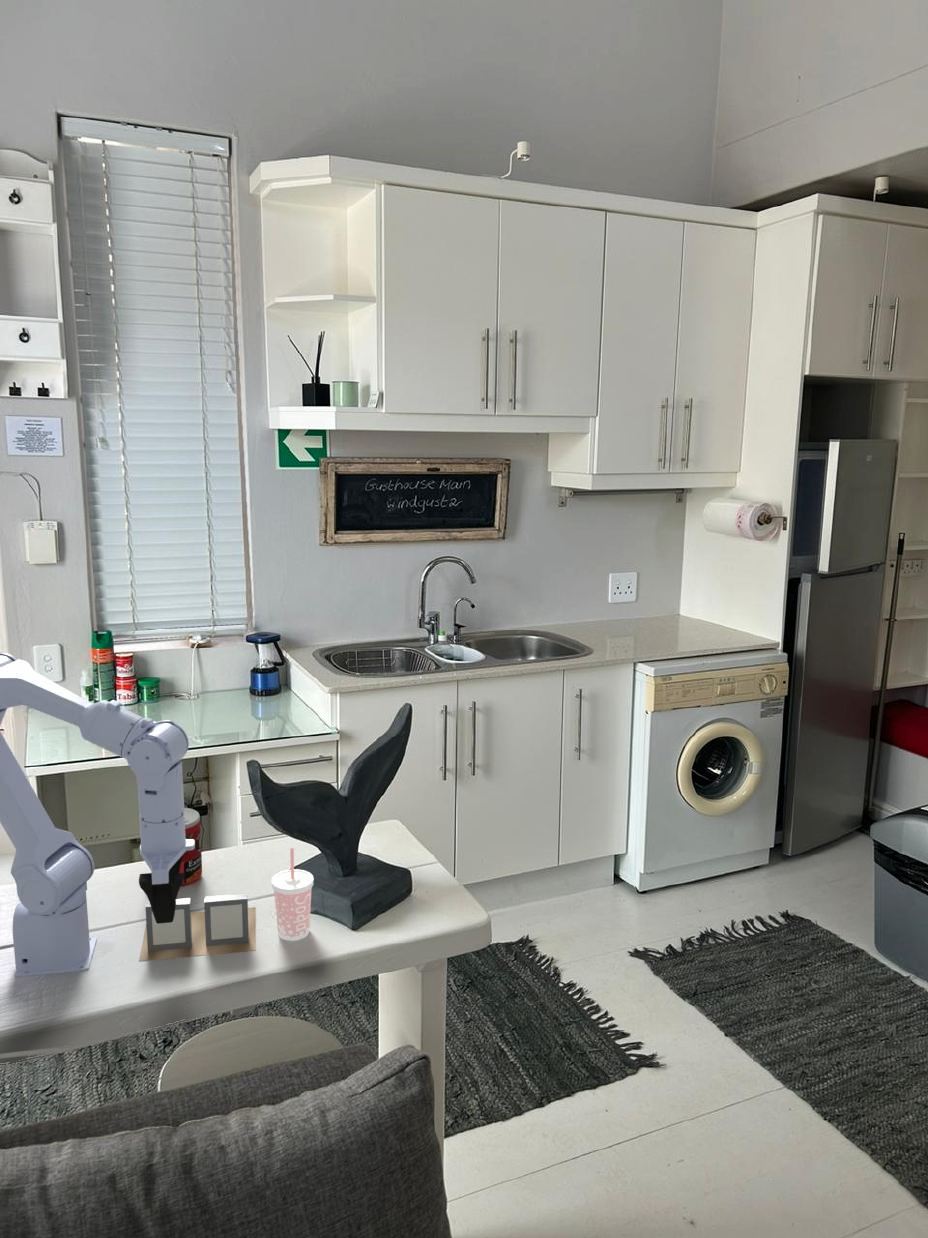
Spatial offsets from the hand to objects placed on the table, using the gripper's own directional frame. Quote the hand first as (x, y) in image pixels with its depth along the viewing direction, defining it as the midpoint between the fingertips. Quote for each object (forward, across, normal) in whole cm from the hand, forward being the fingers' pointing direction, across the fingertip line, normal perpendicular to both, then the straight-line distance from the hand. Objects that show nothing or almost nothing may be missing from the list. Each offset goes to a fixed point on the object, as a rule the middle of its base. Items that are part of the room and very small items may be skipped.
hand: (166, 907), depth 131 cm
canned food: (+10, +27, 0) cm, 29 cm away
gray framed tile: (+10, +6, -8) cm, 13 cm away
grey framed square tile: (+10, +6, 0) cm, 11 cm away
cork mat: (+10, +9, -4) cm, 14 cm away
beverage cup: (+10, +6, -17) cm, 21 cm away
